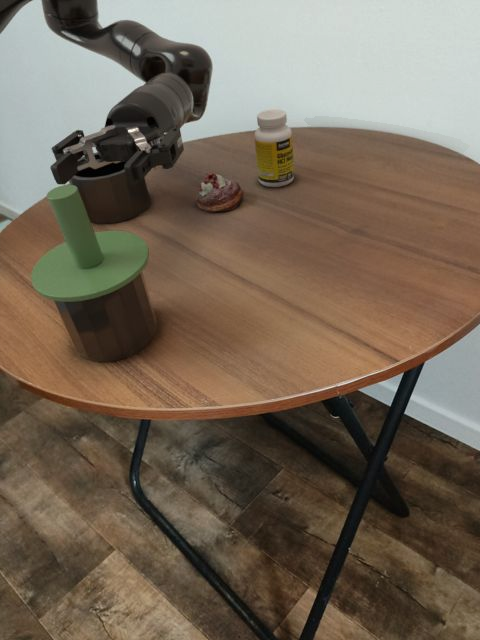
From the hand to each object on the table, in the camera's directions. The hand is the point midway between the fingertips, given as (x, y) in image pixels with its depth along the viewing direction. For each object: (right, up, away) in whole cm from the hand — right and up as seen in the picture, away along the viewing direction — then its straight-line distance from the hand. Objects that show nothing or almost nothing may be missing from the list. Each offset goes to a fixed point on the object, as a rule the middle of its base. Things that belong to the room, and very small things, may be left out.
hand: (92, 176), depth 55 cm
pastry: (+11, +6, +31) cm, 33 cm away
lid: (0, -9, +1) cm, 9 cm away
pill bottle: (+21, +11, +35) cm, 42 cm away
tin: (-7, +6, +33) cm, 34 cm away
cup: (0, -17, +7) cm, 18 cm away
